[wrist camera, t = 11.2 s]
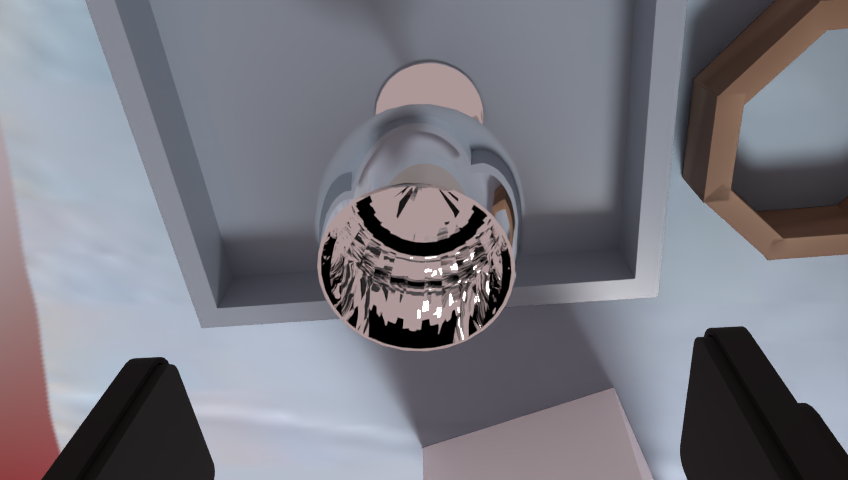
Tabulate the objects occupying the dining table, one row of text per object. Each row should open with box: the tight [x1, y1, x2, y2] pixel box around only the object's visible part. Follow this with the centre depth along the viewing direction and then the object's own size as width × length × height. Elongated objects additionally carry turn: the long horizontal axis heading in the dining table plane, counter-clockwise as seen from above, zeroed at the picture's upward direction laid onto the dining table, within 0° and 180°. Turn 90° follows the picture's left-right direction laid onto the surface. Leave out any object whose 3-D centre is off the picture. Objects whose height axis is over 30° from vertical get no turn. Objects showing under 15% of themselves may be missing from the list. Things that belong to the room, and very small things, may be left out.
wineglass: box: [314, 62, 526, 351], centre depth 20 cm, size 6×6×12 cm
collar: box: [682, 0, 848, 261], centre depth 24 cm, size 10×10×2 cm
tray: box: [85, 0, 687, 328], centre depth 24 cm, size 16×20×4 cm
